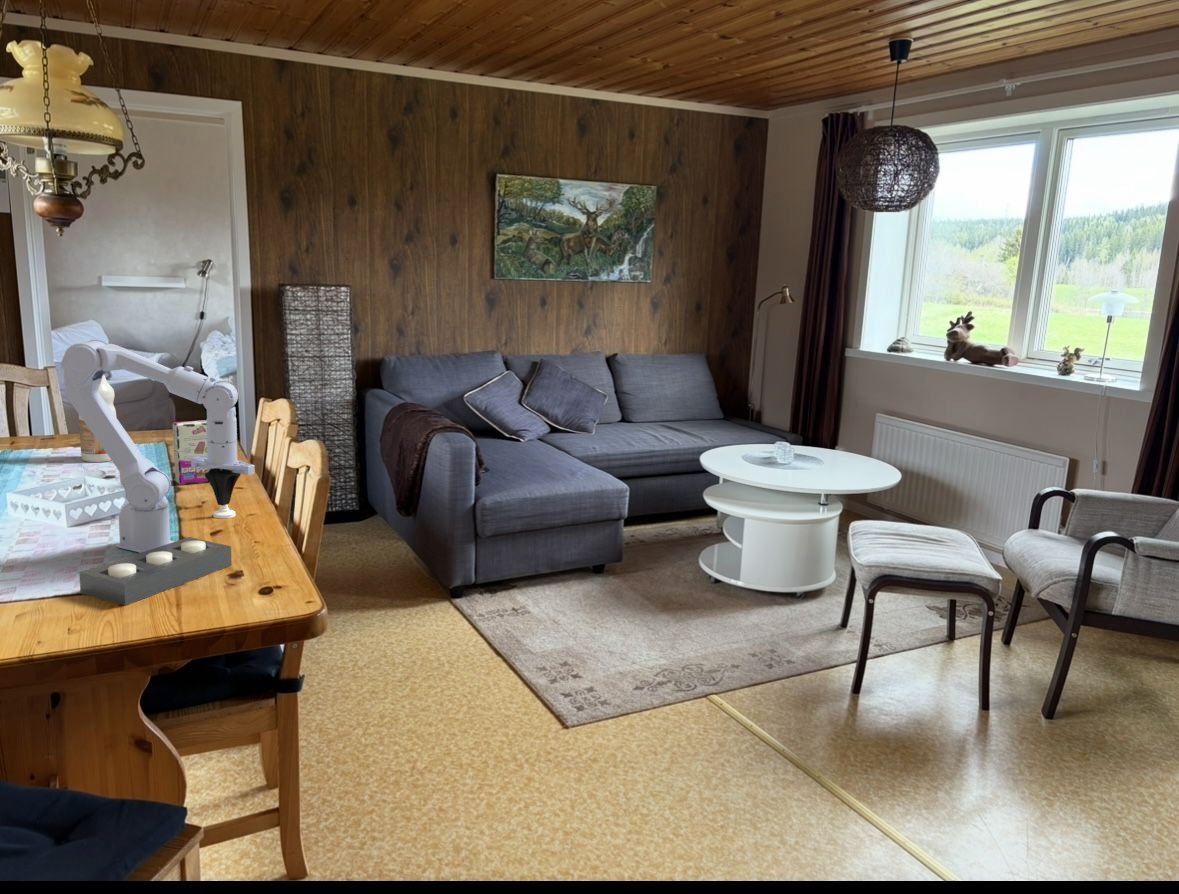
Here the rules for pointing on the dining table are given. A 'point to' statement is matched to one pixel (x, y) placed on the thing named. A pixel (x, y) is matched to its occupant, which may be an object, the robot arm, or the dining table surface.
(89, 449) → the fruit juice
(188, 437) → the candy bar box
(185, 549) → the knob
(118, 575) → the knob
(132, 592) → the knob mount
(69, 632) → the dining table surface
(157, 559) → the knob middle
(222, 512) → the chess piece
